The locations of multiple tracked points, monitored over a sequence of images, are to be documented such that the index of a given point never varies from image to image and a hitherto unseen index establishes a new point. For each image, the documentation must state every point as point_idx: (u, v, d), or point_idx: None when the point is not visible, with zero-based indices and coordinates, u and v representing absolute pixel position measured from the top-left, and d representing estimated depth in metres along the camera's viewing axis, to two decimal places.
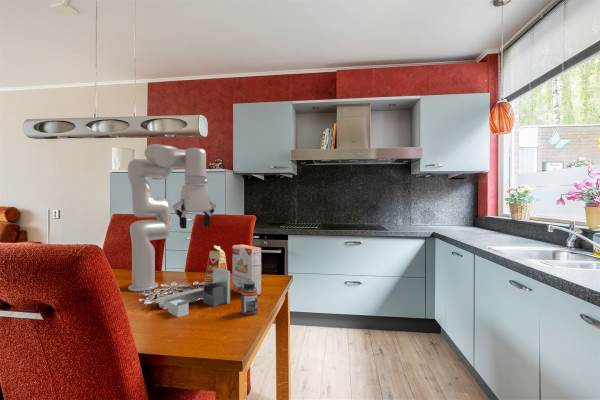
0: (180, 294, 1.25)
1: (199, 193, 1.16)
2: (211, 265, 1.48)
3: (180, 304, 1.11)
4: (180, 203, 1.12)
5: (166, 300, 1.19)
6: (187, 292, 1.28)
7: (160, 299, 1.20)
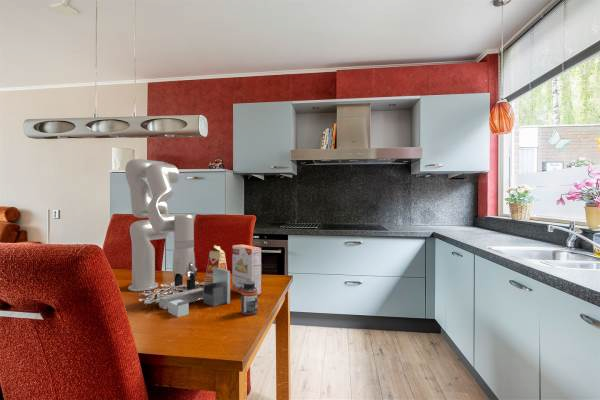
0: (180, 294, 1.25)
1: None
2: (211, 265, 1.48)
3: (180, 304, 1.11)
4: None
5: (166, 300, 1.19)
6: (187, 292, 1.28)
7: (160, 299, 1.20)
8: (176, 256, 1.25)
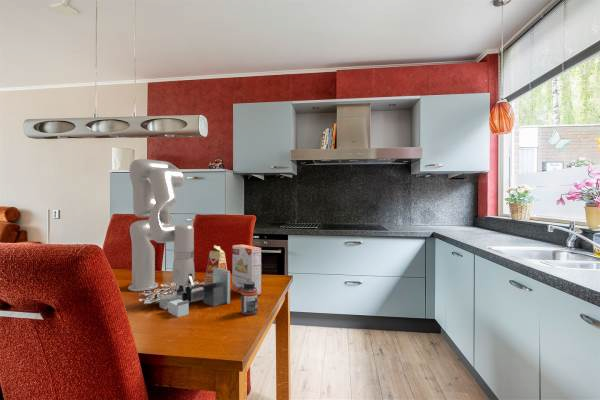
0: (180, 293, 1.25)
1: None
2: (211, 265, 1.48)
3: (180, 304, 1.11)
4: None
5: (166, 299, 1.19)
6: None
7: (160, 298, 1.20)
8: (175, 267, 1.25)
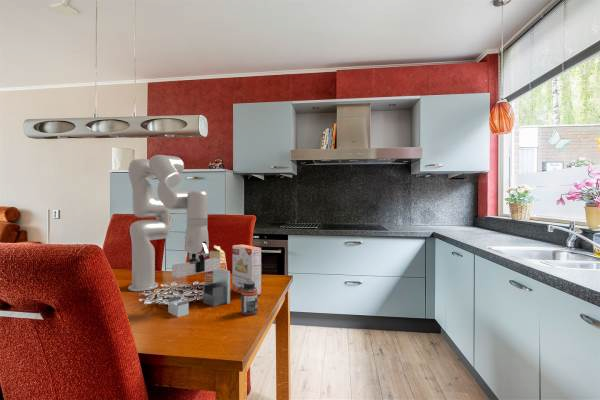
0: (194, 262, 1.18)
1: None
2: None
3: (180, 304, 1.11)
4: None
5: (179, 267, 1.13)
6: None
7: (173, 266, 1.14)
8: (188, 234, 1.19)
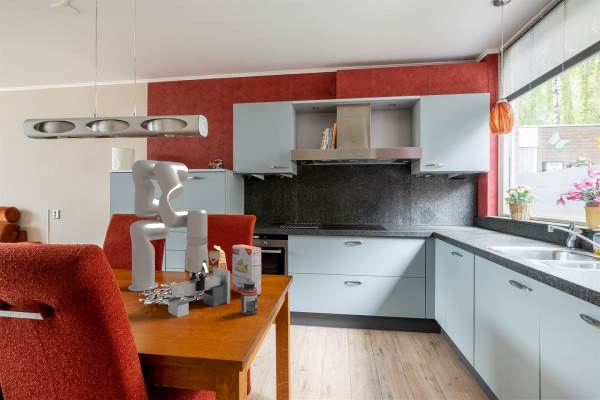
0: (194, 281, 1.18)
1: None
2: (211, 265, 1.48)
3: (180, 304, 1.11)
4: None
5: (179, 287, 1.13)
6: None
7: (173, 286, 1.14)
8: (188, 253, 1.19)
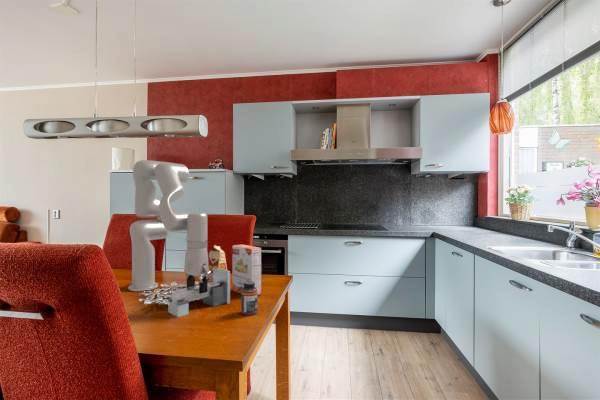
0: (193, 288, 1.19)
1: None
2: (211, 265, 1.48)
3: (180, 304, 1.11)
4: None
5: (179, 294, 1.13)
6: None
7: (173, 293, 1.14)
8: (188, 256, 1.19)
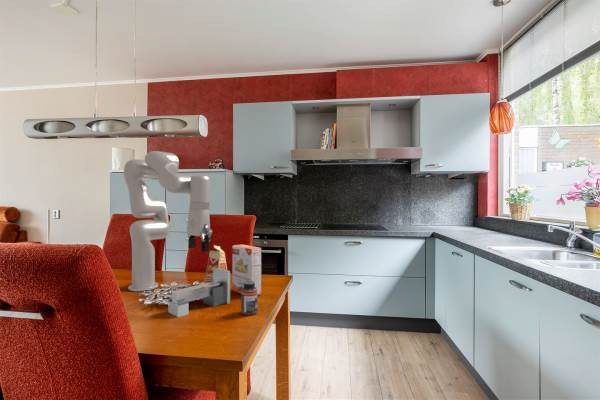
0: (193, 288, 1.19)
1: None
2: (211, 265, 1.48)
3: (180, 304, 1.11)
4: None
5: (179, 294, 1.13)
6: (200, 286, 1.21)
7: (173, 293, 1.14)
8: (191, 217, 1.23)
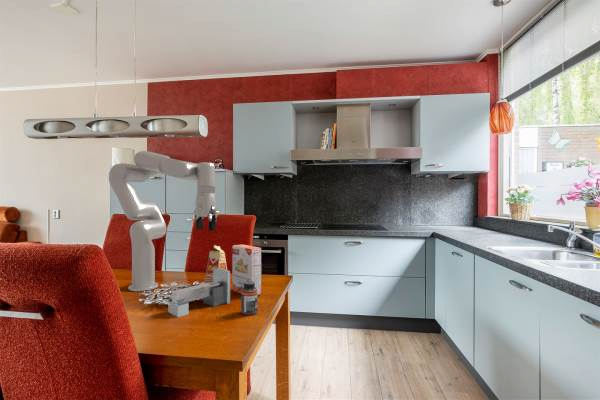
0: (193, 288, 1.19)
1: None
2: (211, 265, 1.48)
3: (180, 304, 1.11)
4: None
5: (179, 294, 1.13)
6: (200, 286, 1.21)
7: (173, 293, 1.14)
8: (198, 200, 1.36)
